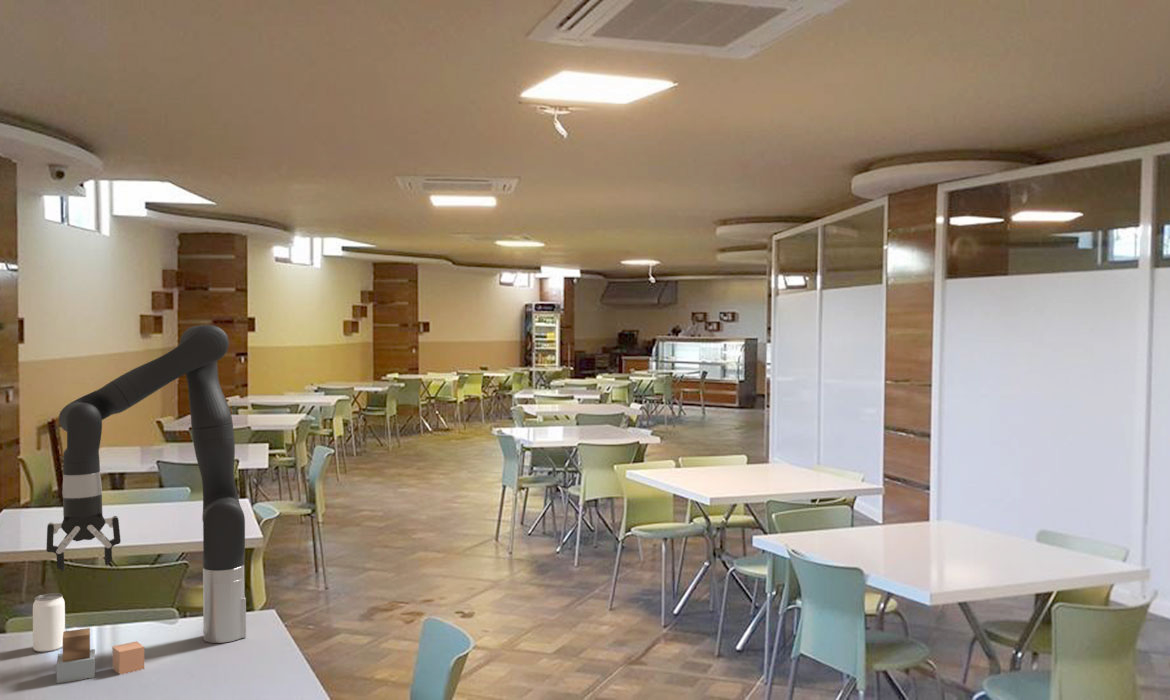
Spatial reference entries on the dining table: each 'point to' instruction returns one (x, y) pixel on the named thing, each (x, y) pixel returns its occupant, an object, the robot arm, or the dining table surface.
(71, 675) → the base block
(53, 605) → the can
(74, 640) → the walnut cube
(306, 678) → the dining table surface
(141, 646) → the terracotta cube
